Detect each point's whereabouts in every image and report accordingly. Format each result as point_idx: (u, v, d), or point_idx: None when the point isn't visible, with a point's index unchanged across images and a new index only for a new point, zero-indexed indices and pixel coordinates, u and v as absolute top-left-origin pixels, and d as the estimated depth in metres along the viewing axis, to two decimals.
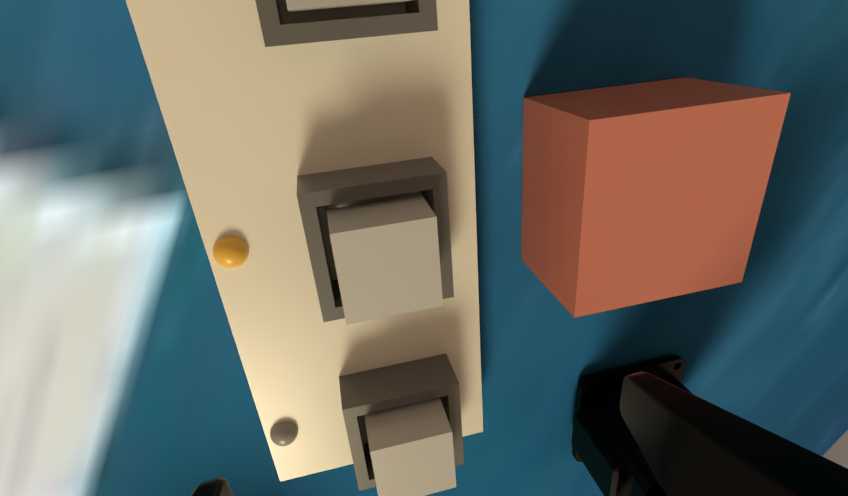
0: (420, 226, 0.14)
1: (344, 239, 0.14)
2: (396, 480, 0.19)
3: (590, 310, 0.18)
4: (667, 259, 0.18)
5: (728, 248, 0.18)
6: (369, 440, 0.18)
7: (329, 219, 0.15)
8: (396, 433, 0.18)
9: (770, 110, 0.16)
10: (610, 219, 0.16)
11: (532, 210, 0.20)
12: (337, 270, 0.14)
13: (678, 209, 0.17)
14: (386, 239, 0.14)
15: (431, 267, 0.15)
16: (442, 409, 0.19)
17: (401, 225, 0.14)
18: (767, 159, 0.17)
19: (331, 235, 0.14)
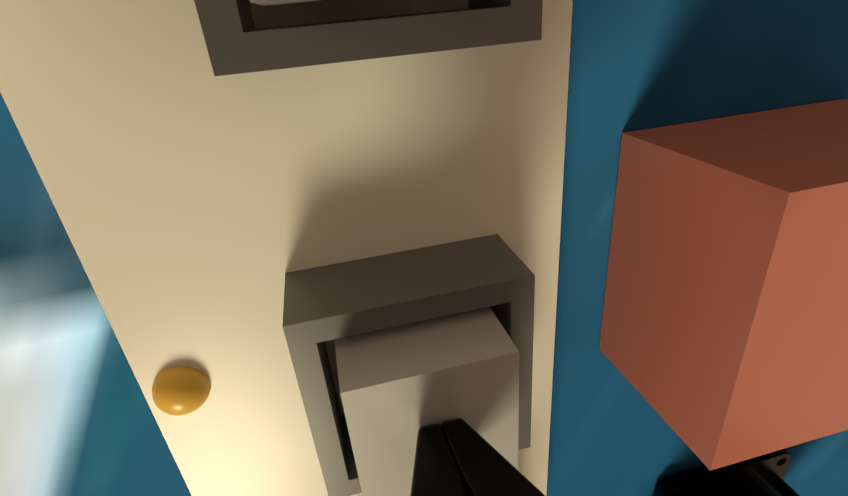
0: (490, 367, 0.08)
1: (366, 397, 0.08)
2: None
3: (734, 459, 0.12)
4: None
5: None
6: None
7: (338, 350, 0.09)
8: None
9: None
10: (788, 337, 0.10)
11: (628, 293, 0.14)
12: (353, 443, 0.08)
13: None
14: (434, 392, 0.08)
15: (504, 423, 0.09)
16: None
17: (460, 370, 0.08)
18: None
19: (343, 394, 0.08)
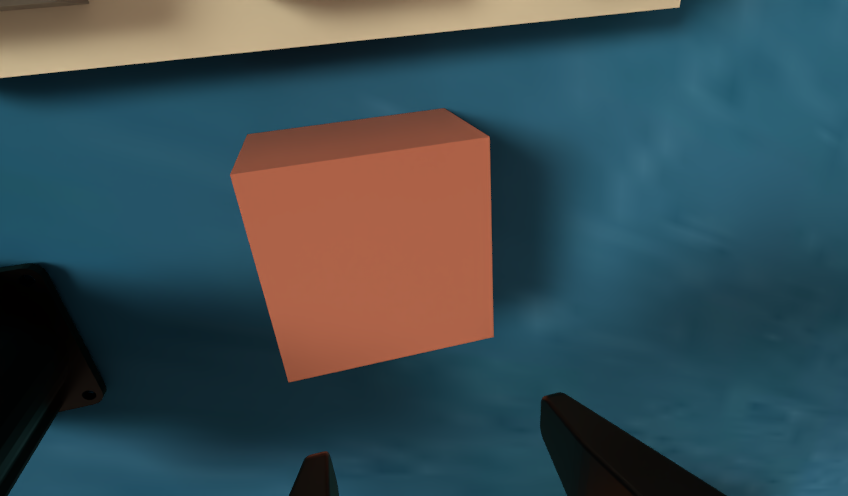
0: None
1: None
2: None
3: (243, 196, 0.13)
4: (321, 279, 0.15)
5: (334, 347, 0.16)
6: None
7: None
8: None
9: (480, 325, 0.17)
10: (376, 190, 0.14)
11: (329, 129, 0.17)
12: None
13: (385, 270, 0.15)
14: None
15: None
16: None
17: None
18: (433, 344, 0.17)
19: None
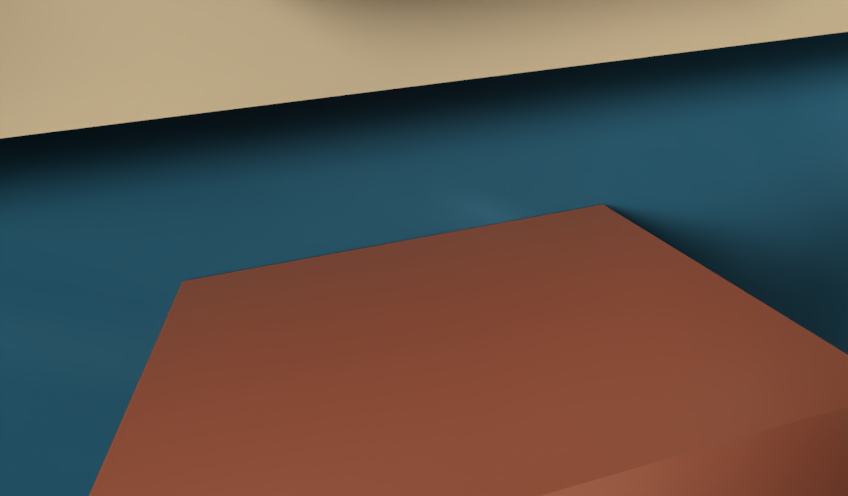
0: None
1: None
2: None
3: None
4: None
5: None
6: None
7: None
8: None
9: None
10: None
11: (372, 279, 0.07)
12: None
13: None
14: None
15: None
16: None
17: None
18: None
19: None
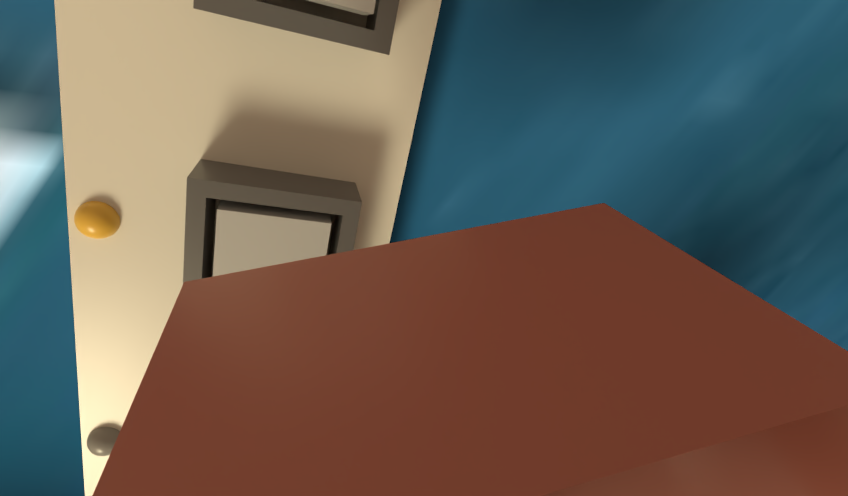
0: (312, 227, 0.14)
1: (232, 218, 0.14)
2: None
3: None
4: None
5: None
6: None
7: None
8: None
9: None
10: None
11: (373, 279, 0.07)
12: (215, 248, 0.14)
13: None
14: (274, 231, 0.14)
15: None
16: None
17: (293, 222, 0.14)
18: None
19: (218, 211, 0.13)
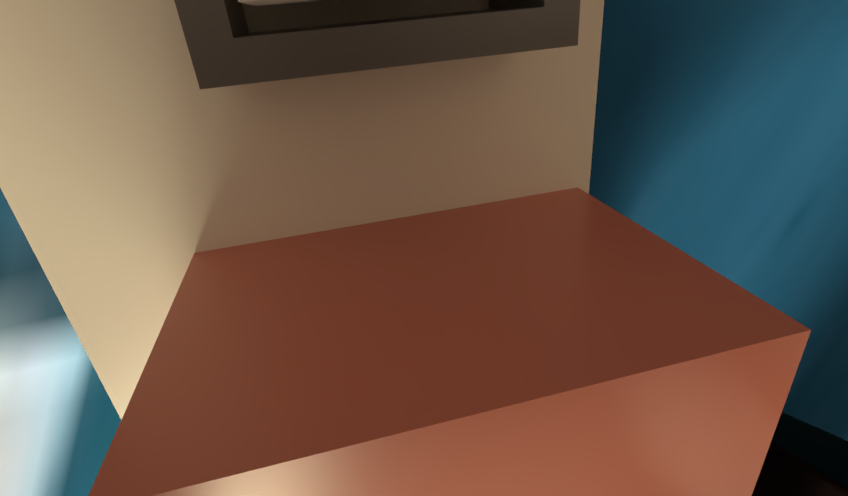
0: None
1: None
2: None
3: None
4: None
5: None
6: None
7: None
8: None
9: None
10: (512, 479, 0.05)
11: (365, 250, 0.08)
12: None
13: None
14: None
15: None
16: None
17: None
18: None
19: None
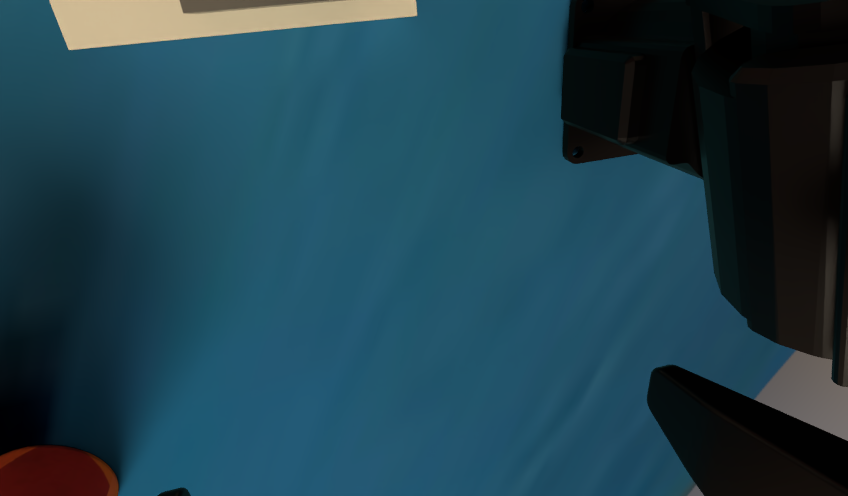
0: None
1: None
2: None
3: None
4: None
5: None
6: None
7: None
8: None
9: None
10: None
11: None
12: None
13: None
14: None
15: None
16: None
17: None
18: None
19: None
